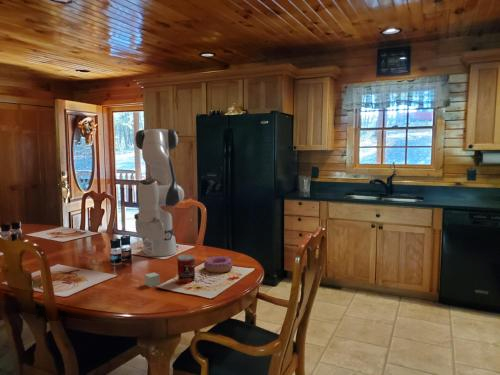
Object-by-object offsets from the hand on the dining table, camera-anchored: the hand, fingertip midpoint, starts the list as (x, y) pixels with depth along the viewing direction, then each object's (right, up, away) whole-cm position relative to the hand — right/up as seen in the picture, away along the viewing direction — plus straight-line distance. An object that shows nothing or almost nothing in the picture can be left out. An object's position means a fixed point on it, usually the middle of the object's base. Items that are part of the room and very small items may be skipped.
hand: (150, 247), depth 165 cm
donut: (+28, -15, +22) cm, 38 cm away
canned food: (+15, -16, +7) cm, 23 cm away
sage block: (0, -17, +2) cm, 17 cm away
